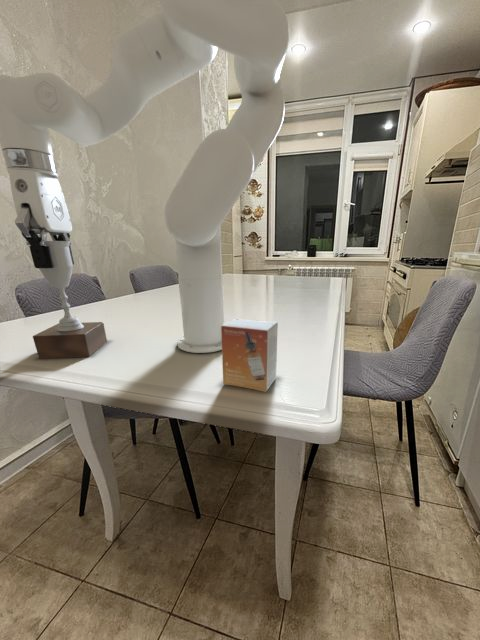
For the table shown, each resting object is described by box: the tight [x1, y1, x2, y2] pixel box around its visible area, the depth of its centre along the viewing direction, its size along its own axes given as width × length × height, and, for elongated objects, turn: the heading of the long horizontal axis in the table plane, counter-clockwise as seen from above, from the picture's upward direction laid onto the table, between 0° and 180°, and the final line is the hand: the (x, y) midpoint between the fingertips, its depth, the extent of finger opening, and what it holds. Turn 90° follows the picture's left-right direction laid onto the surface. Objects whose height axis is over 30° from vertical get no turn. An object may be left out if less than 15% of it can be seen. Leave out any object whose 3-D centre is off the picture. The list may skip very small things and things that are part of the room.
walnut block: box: [32, 321, 108, 360], centre depth 65 cm, size 10×10×5 cm
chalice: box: [38, 240, 84, 331], centre depth 61 cm, size 7×7×18 cm
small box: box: [221, 317, 279, 393], centre depth 49 cm, size 8×6×10 cm
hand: (55, 265), depth 59 cm, fingers closed on chalice, 7 cm apart
